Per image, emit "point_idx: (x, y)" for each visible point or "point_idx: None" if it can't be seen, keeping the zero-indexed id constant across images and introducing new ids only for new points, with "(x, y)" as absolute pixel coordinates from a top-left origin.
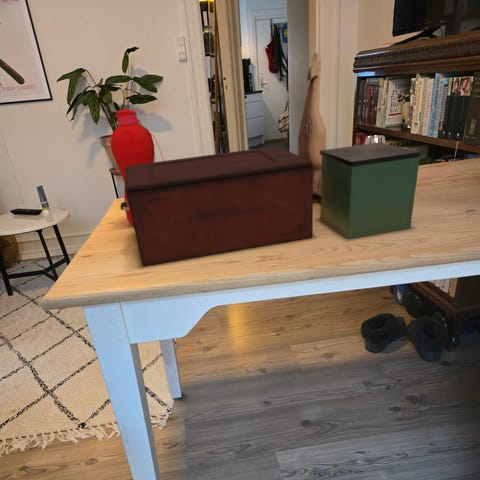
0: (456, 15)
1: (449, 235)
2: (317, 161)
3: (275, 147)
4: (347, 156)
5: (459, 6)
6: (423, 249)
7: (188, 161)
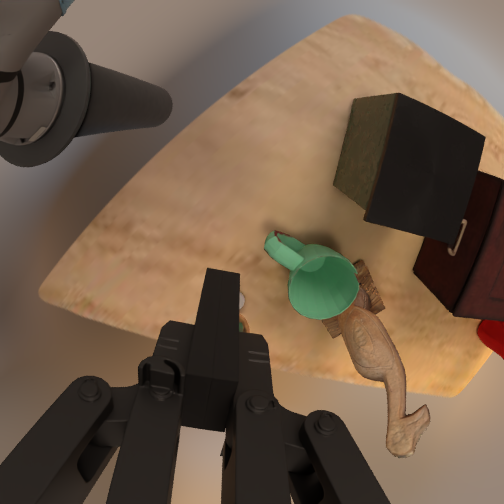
0: (235, 311)
1: (337, 50)
2: (369, 312)
3: (465, 304)
4: (468, 170)
5: (225, 331)
6: (390, 48)
7: None
